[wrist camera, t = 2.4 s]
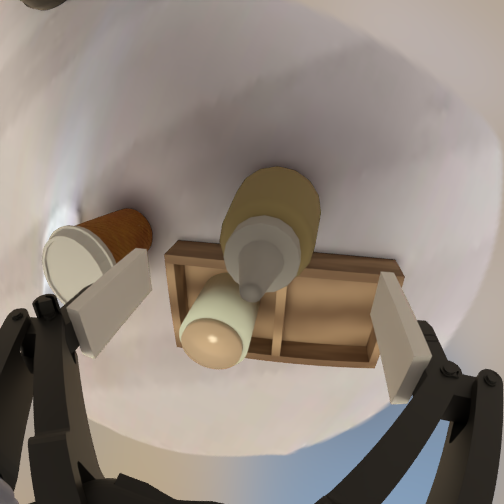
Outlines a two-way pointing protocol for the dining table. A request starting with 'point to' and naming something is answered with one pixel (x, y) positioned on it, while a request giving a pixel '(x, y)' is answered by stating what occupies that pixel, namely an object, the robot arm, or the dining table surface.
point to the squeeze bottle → (270, 231)
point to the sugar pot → (219, 324)
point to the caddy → (294, 306)
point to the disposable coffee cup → (92, 250)
